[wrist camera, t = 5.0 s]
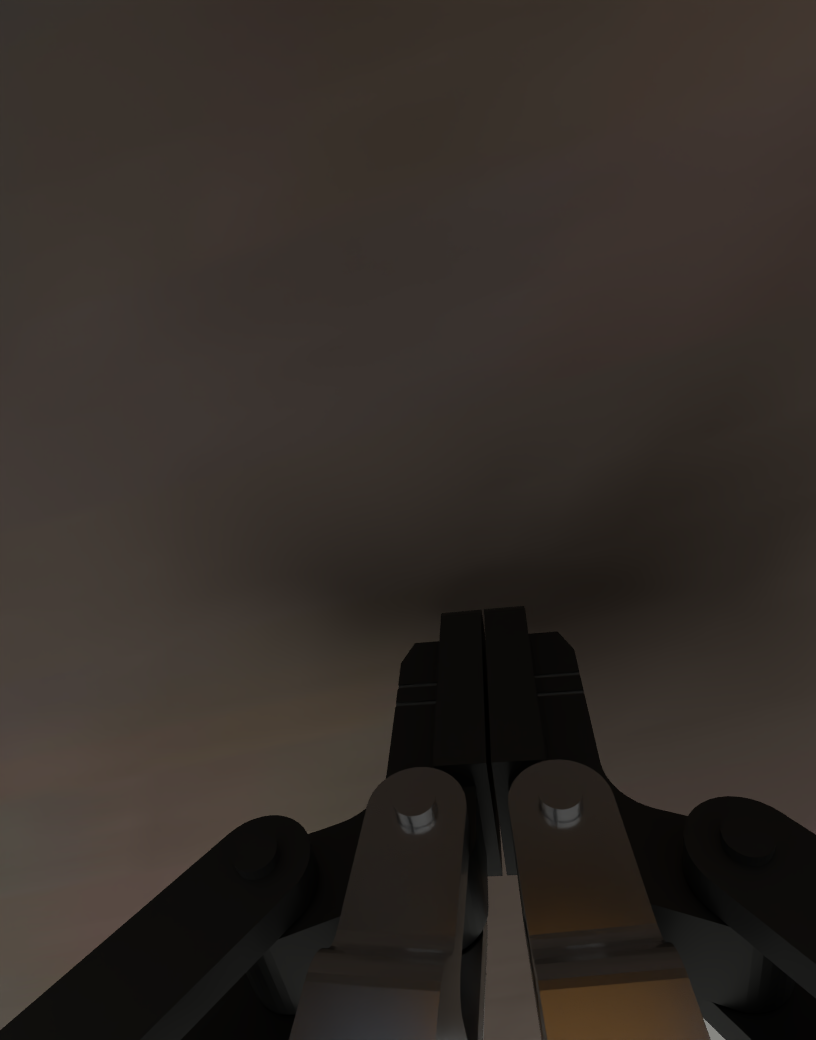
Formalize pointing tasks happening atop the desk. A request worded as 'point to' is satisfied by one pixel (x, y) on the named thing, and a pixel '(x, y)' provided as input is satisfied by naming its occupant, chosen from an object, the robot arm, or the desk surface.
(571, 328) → the desk surface
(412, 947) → the robot arm
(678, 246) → the desk surface
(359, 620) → the desk surface
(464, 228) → the desk surface
